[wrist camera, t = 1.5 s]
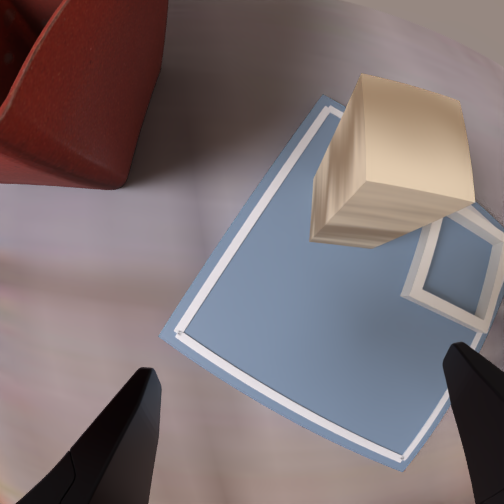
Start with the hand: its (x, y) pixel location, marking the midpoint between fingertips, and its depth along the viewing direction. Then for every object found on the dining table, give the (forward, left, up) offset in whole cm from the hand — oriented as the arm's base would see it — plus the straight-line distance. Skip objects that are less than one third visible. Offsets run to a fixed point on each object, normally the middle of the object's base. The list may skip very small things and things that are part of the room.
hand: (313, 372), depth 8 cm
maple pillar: (+1, -9, -12) cm, 15 cm away
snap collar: (-9, -11, -12) cm, 19 cm away
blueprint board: (-4, -6, -13) cm, 15 cm away
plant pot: (+24, -5, -14) cm, 28 cm away
